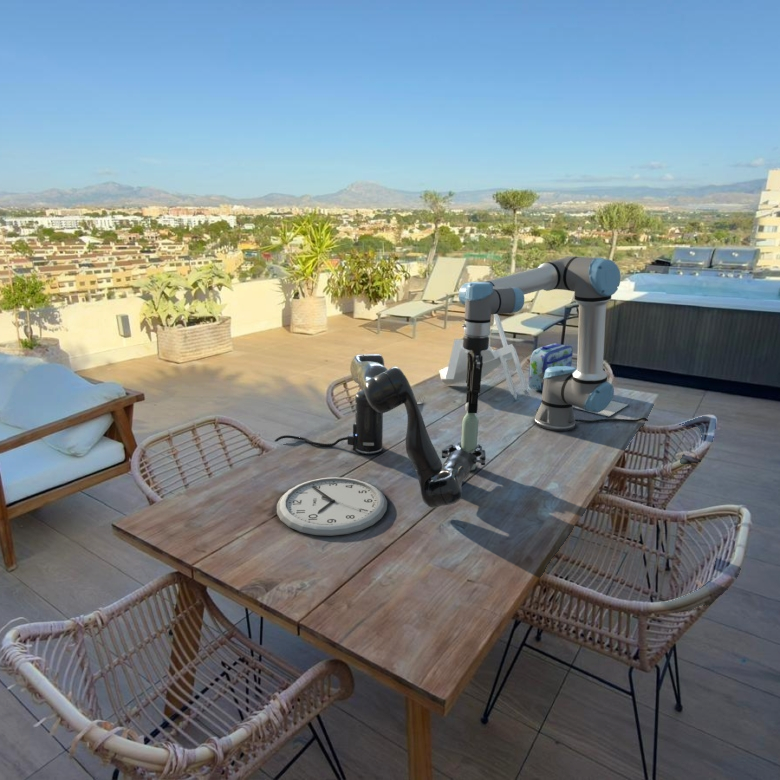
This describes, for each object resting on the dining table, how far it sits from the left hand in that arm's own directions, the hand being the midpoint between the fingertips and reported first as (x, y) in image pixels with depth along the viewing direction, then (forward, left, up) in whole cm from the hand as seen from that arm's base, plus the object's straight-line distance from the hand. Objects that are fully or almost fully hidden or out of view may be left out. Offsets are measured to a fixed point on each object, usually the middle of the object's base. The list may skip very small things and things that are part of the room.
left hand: (470, 445), depth 167 cm
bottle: (0, -3, -6) cm, 7 cm away
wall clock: (-28, -41, -6) cm, 50 cm away
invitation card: (+40, +79, -6) cm, 89 cm away
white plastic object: (-13, +78, -6) cm, 79 cm away
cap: (0, -3, +15) cm, 15 cm away
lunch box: (+16, +99, -6) cm, 100 cm away
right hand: (0, -3, +13) cm, 13 cm away
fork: (-34, +47, -6) cm, 58 cm away
